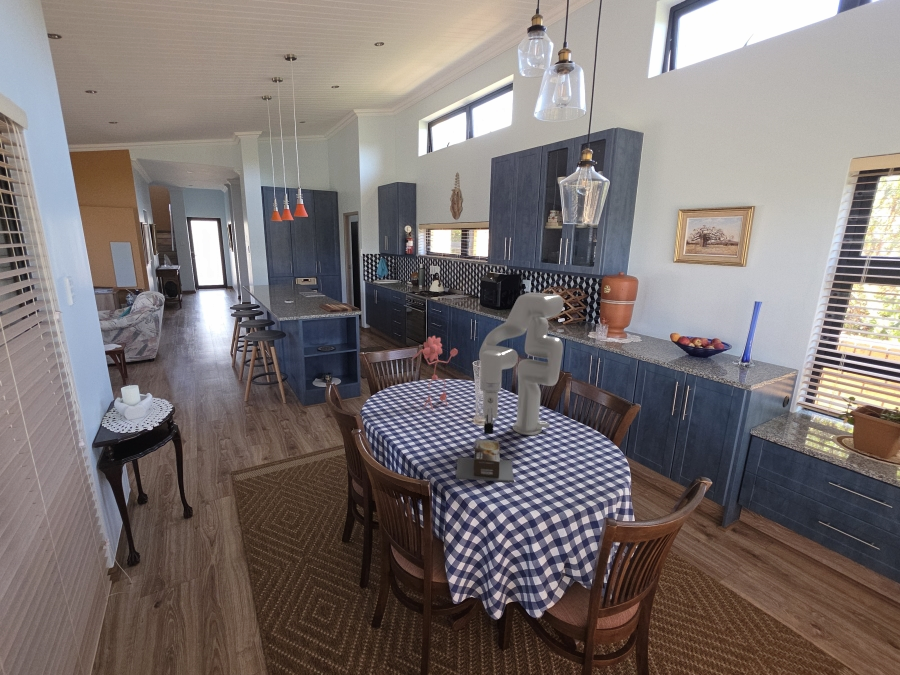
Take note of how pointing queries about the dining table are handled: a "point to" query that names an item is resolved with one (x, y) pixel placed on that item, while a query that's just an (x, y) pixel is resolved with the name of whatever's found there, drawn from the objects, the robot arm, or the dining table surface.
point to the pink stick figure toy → (432, 352)
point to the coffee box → (486, 458)
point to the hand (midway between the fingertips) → (488, 432)
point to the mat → (467, 472)
